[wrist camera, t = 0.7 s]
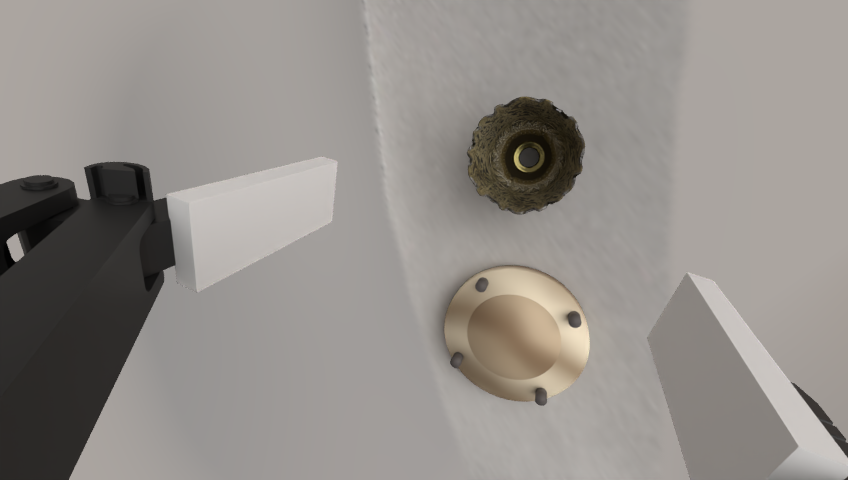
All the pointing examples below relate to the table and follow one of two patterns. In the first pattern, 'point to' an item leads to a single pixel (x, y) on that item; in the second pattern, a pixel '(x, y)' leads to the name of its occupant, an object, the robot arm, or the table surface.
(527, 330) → the seat plate
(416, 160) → the table surface
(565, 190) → the ornate scalloped bell shade
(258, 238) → the robot arm
